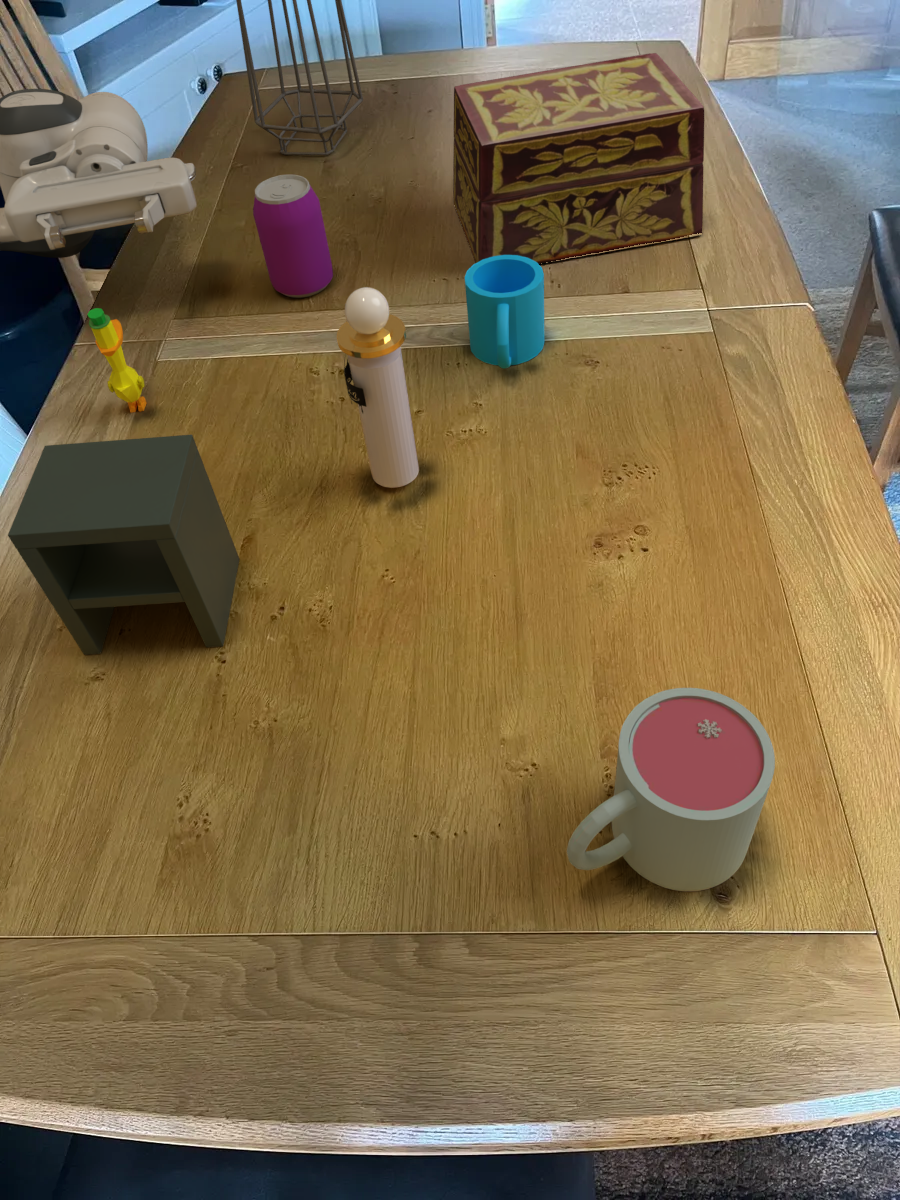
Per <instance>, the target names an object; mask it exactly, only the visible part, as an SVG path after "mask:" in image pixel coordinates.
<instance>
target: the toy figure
mask: <svg viewBox="0 0 900 1200" xmlns="http://www.w3.org/2000/svg"><path fill="white" fill-rule="evenodd" d="M87 317H88V319H89V321H88V326H89V328H90V329H91V331H92V334H93V336H94V338H95V341H94V343H95V345H96V347H97V348H98V350H99V351H100V353H101V355H103V356H104V357H105V359H106V361H107V363H108V364H109V367H111V372H110V376H109V377H108V380H107V387H108V390H109V392H111V393H112V394H113V393H114V394H115V395H116V397H117V398H118V399H120V400H122V401H124V402H125V403H127V406H128V409H129V412H130V413H132V414H133V413H136V411H137V410H138V412H144V411H145V409H146V407H147V404H148V402H147V400H146V397H145V396H141V395H142V393H143V389H144V388H145V379H144V377H143V376H142V375H139V374H138V372H137V370H136V369H135V368H133V367H131V366H129V365H128V364H127V362H126V358H125V355H124V351H123V347H122V345H123V342H124V341H123V340H124V330H123V326H122V324H121V321H120V320H118V319H117V318H115V319H111V317H110V316H109V315H108V314H106V313H105V312H104V310H103V309H102V308H101V307H100V308H99V307H95V308H92V309H90V310H89V311H88V312H87Z"/></svg>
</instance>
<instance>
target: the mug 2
mask: <svg viewBox="0 0 900 1200" xmlns="http://www.w3.org/2000/svg"><path fill="white" fill-rule="evenodd" d="M769 735H770V734H769V733H768V732H767V730H766V728H765V727H764V725H763V724H762V722H761V721H760V720H759V719H758V718H757V716H756V715H754V713H752V712H751V710H749V709H748V708H747V707H745V706H744V705H743V704H741V703H740V702H738V701H737V700H735V699H733V698H731V697H729V696H727V695H726V694H725V695H724V694H722V693H720V692H717V691H713V690H709V689H706V688H705V689H704V688H698V687H674V688H670V689H664V690H662V691H659V692H656V693H653V694H652V695H650V696H648V697H647V698H644V699H643V700H641V701H640V702H639V703H638V704H637V705H636V706H634V708H633V709H632V710H631V711H630V712H629V714H628V715H627V716H626V718H625V720H624V721H623V724H622V726H621V729H620V733H619V738H618V746H617V758H616V767H615V768H616V769H615V780H614V791H613V796H611V797H609V798H608V799H606V800H605V801H603V802H602V803H600V804H599V805H598V806H597V807H596V808H594V809H593V810H591V812H590V813H588V814H587V816H585V817H584V818H583V820H581V822H580V823H579V824H578V826H576V828H575V829H574V830H573V833H572V834H571V836H570V838H569V840H568V843H567V847H566V856H567V859H568V862H569V863H570V864H571V865H572V866H573V867H574V868H575V869H577V870H581V871H592V870H597V869H599V868H602V867H605V866H608V865H609V864H611V863H613V862H616V861H618V860H619V859H620V858H623V859H624V861H626V863H627V864H628V866H630V867H631V868H632V869H633V870H634V871H635V872H636V873H637V874H639V875H640V876H641V877H643V878H644V879H646V880H647V881H649V882H651V883H652V884H655V885H658V886H659V887H661V888H664V889H667V890H668V889H669V890H673V891H676V892H700V891H705V890H709V889H712V888H714V887H717V886H719V885H721V884H723V883H725V882H726V881H727V880H729V879H731V877H732V876H734V875H735V874H736V872H737V871H739V869H740V868H741V866H742V864H743V862H744V861H745V858H746V856H747V853H748V850H749V848H750V844H751V842H752V839H753V836H754V833H755V830H756V828H757V825H758V822H759V819H760V816H761V813H762V810H763V807H764V804H765V801H766V799H767V796H768V792H769V790H770V787H771V784H772V782H773V778H774V774H775V769H776V758H775V751H774V745H773V744H772V740H771V738H770V736H769ZM610 823H611V830H612V835H613V836H612V837H613V839H612V840H611V841H609V842H607V843H605V844H604V845H602V846H600V847H597V848H595V849H591V850H587V849H588V847H589V846H590V843H592V841H593V840H594V839H595V837H596V836H597V835H599V833H600V832H601V831H602V830H603V829H604V828H605V827H606V826H608V825H609V824H610Z"/></svg>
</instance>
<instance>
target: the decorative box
mask: <svg viewBox="0 0 900 1200" xmlns="http://www.w3.org/2000/svg"><path fill="white" fill-rule="evenodd" d="M452 157H453V162H452V163H453V166H452V169H453V171H452V175H453V177H452V179H453V180H452V181H453V182H452V184H453V185H452V186H453V188H452V194H453V195H452V204H453V206H454V205H455V207H454V209H455V208H456V209H455V211H456V210H457V212H456V214H457V213H458V215H457V217H458V216H459V217H458V220H459V219H460V220H459V222H460V221H461V223H460V225H461V224H462V225H461V227H463V228H462V230H463V233H464V232H465V233H464V234H465V235H466V236H465V238H466V240H468V241H467V244H468V243H469V244H468V246H469V245H470V246H469V249H470V248H471V249H470V251H471V254H472V256H474V257H473V259H474V262H475V261H476V262H475V263H477V262H479V261H481V260H483V259H486V258H489V257H493V256H500V255H518V256H523V257H527V258H530V259H532V260H534V261H536V262H537V263H538V264H541V263H546V262H551V261H556V260H561V259H565V258H569V257H574V256H575V257H576V256H582V255H586V254H591V253H599V252H603V251H609V250H614V249H619V248H624V247H628V246H629V247H630V246H634V245H638V244H639V245H640V244H645V243H646V244H647V243H652V242H653V243H654V242H661V241H666V240H670V239H675V238H680V237H684V236H687V235H692V234H697V233H698V234H699V233H702V234H703V224H704V223H703V222H704V159H705V158H704V157H705V106H704V105H703V103H702V102H701V101H700V100H699V99H698V98H697V97H696V96H695V95H694V94H693V92H692V91H691V90H690V89H689V87H687V86H686V84H685V83H684V82H683V81H682V80H681V79H680V78H679V77H678V75H677V74H676V73H675V72H674V71H673V69H671V67H669V65H668V64H667V63H666V62H665V61H664V60H663V58H662V56H660V55H659V54H658V53H657V52H651V53H649V52H648V53H643V54H638V55H637V54H636V55H631V56H626V57H619V58H612V59H607V60H601V61H596V62H590V63H582V64H578V65H577V64H576V65H571V66H565V67H559V68H553V69H547V70H542V71H536V72H535V71H534V72H530V73H523V74H518V75H511V76H506V77H500V78H499V77H498V78H493V79H488V80H482V81H476V82H470V83H465V84H459V85H456V86H454V87H453V155H452ZM541 265H542V264H541Z"/></svg>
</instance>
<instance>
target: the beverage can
mask: <svg viewBox="0 0 900 1200" xmlns="http://www.w3.org/2000/svg"><path fill="white" fill-rule="evenodd" d="M252 214H253V219H254V222H255V227H256V230H257V234H258V235H257V236H258V238H259V242H260V247H261V250H262V253H263V257H264V262H265V266H266V269H267V273H268V276H269V277H268V278H269V281H270V283H271V285H272V287H273V289H274V290H275V291H277V292H278V293H280V294H282V295H284V296H286V297H289V298H295V299H296V298H297V299H298V298H300V299H301V298H308V297H311V296H315V295H317V294H318V293H321V292H323V291H324V289H325V288H327V287H328V285H329V284H330V283H331V281H332V280H333V277H334V269H333V263H332V257H331V253H330V248H329V243H328V238H327V233H326V228H325V222H324V217H323V213H322V208H321V203H320V198H319V197H318V195H317V194H316V192H315V190H314V189H313V187H312V186H311V183H310V182H309V180H308V179H307V178H306V177H304V176H302V175H299V174H280V175H276V176H272V177H269V178H267V179H264V180H263V181H261V182H260V183H258V184H257V186H256V187H255V188H254V200H253V209H252Z"/></svg>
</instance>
